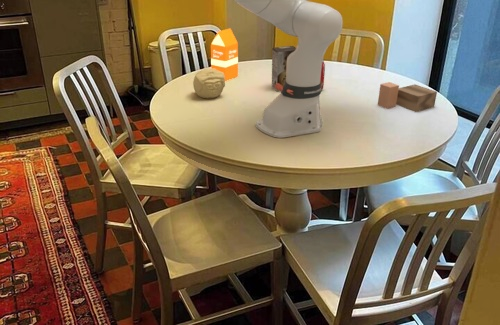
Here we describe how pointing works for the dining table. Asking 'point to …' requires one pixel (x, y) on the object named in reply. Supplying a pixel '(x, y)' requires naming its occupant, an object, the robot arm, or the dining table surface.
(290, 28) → the robot arm
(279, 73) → the coffee box
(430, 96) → the walnut box
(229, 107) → the dining table surface
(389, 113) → the dining table surface
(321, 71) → the soda can
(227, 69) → the orange juice
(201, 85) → the sculpture
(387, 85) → the salmon pink block
